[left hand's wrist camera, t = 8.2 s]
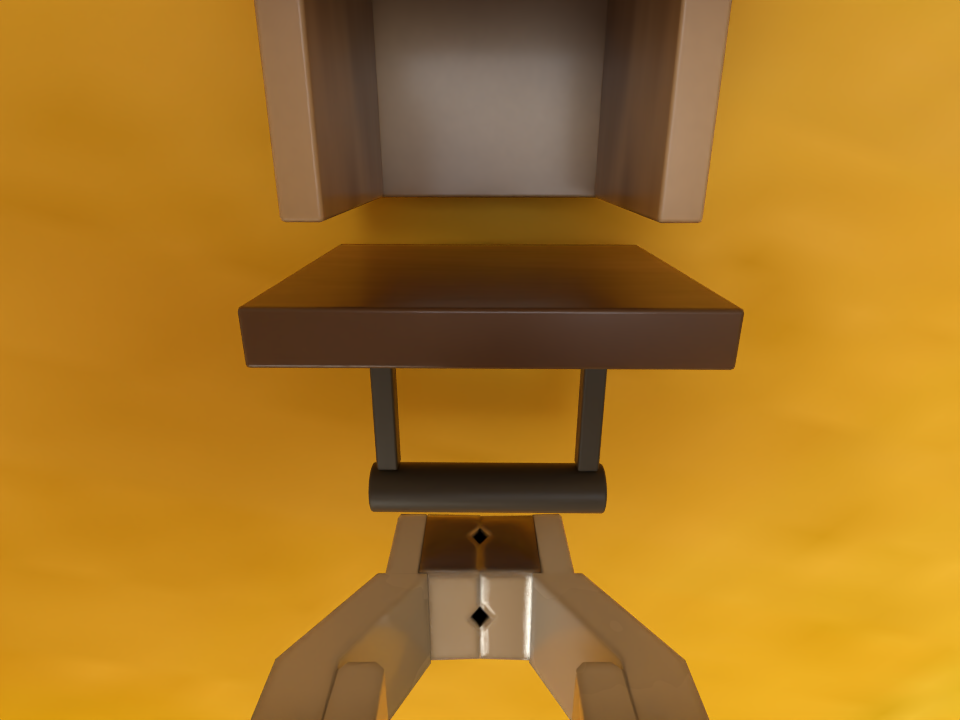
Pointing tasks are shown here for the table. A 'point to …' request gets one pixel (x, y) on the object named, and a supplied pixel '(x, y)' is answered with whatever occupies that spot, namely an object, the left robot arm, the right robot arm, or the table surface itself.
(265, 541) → the table surface
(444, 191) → the drawer
